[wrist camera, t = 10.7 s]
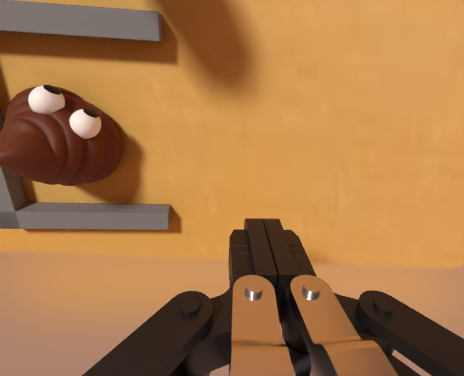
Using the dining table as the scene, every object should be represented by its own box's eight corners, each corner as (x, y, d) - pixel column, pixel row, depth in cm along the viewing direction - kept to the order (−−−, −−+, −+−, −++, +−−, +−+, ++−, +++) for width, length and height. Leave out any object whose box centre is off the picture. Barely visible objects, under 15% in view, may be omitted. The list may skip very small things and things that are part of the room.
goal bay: (162, 15, 23) (157, 11, 21) (170, 219, 31) (168, 229, 29) (-59, -2, 21) (-84, -7, 20) (12, 218, 30) (-1, 228, 28)
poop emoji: (5, 139, 26) (-92, 176, 18) (37, 59, 24) (-58, 59, 15) (104, 191, 29) (61, 243, 21) (142, 125, 27) (110, 155, 18)
